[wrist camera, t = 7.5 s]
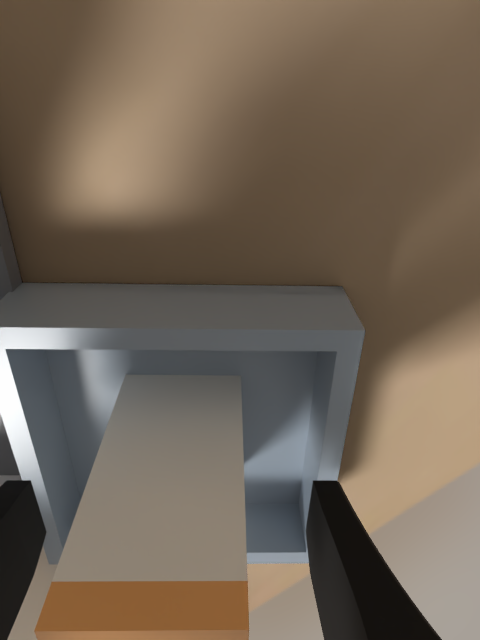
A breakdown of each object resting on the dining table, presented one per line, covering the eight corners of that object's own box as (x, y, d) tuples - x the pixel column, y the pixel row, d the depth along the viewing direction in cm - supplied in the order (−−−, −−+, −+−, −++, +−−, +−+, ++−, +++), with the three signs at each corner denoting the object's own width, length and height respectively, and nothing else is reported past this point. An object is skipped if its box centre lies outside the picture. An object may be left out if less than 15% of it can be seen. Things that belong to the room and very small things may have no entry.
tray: (72, 501, 17) (48, 564, 15) (18, 282, 12) (-28, 326, 10) (310, 501, 17) (322, 563, 15) (342, 286, 13) (365, 330, 10)
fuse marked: (137, 467, 15) (73, 732, 9) (125, 374, 13) (33, 631, 7) (238, 468, 15) (242, 730, 9) (240, 375, 13) (249, 629, 7)
